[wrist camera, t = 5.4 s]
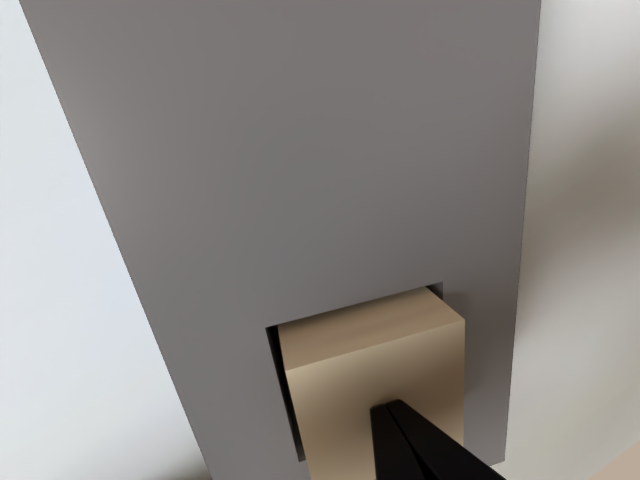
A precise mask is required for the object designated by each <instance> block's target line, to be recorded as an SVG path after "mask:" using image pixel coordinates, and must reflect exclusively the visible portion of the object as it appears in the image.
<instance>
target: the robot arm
mask: <svg viewBox="0 0 640 480" xmlns="http://www.w3.org/2000/svg"><path fill="white" fill-rule="evenodd" d="M370 421H371V432H372V442H373V453H374V463H375V474H376V480H506V479H505V478H504V477H502V476H501V475H500V474H498V473H497V472H496V471H494V470H493V469H492V468H491V467H489V466H488V465H487V464H485V463H484V462H483V461H481V460H480V459H479V458H477V457H476V456H475V455H473V454H472V453H471V452H470V451H468V450H467V449H466V448H464V447H463V446H462V445H460V444H459V443H458V442H456V441H455V440H454V439H452V438H451V437H450V436H449V435H447V434H446V433H445V432H443V431H442V430H441V429H439V428H438V427H437V426H435V425H434V424H433V423H431V422H430V421H429V420H428V419H426V418H425V417H424V416H422V415H421V414H420V413H418V412H417V411H416V410H414V409H413V408H412V407H410V406H409V405H408V404H407V403H405V402H404V401H403V400H401V399H396V400H393V401H390V402H387V403H386V404H385V405H384V404H380V405H377V406H374V407H371V408H370Z"/></svg>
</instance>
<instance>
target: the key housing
mask: <svg viewBox="0 0 640 480" xmlns="http://www.w3.org/2000/svg"><path fill="white" fill-rule="evenodd" d="M19 2H20V4H21V7H22V9H23V12H24V14H25V17H26V19H27V22H28V24H29V27H30V29H31V32H32V34H33V37H34V39H35V42H36V44H37V46H38V49H39V51H40V54H41V56H42V59H43V61H44V64H45V66H46V69H47V71H48V74H49V76H50V79H51V81H52V84H53V86H54V89H55V91H56V94H57V96H58V99H59V101H60V103H61V106H62V108H63V111H64V113H65V116H66V118H67V121H68V123H69V126H70V128H71V131H72V133H73V136H74V138H75V141H76V143H77V146H78V148H79V151H80V153H81V156H82V158H83V160H84V163H85V165H86V168H87V170H88V173H89V175H90V178H91V180H92V183H93V185H94V188H95V190H96V193H97V195H98V198H99V200H100V203H101V205H102V208H103V210H104V213H105V215H106V218H107V220H108V222H109V225H110V227H111V230H112V232H113V235H114V237H115V240H116V242H117V245H118V247H119V250H120V252H121V255H122V257H123V260H124V262H125V265H126V267H127V270H128V272H129V275H130V277H131V279H132V282H133V284H134V287H135V289H136V292H137V294H138V297H139V299H140V302H141V304H142V307H143V309H144V312H145V314H146V317H147V319H148V322H149V324H150V327H151V329H152V332H153V334H154V336H155V339H156V341H157V344H158V346H159V349H160V351H161V354H162V356H163V359H164V361H165V364H166V366H167V369H168V371H169V374H170V376H171V379H172V381H173V384H174V386H175V389H176V391H177V394H178V396H179V398H180V401H181V403H182V406H183V408H184V411H185V413H186V416H187V418H188V421H189V423H190V426H191V428H192V431H193V433H194V436H195V438H196V441H197V443H198V446H199V448H200V451H201V453H202V455H203V458H204V460H205V463H206V465H207V468H208V470H209V473H210V475H211V478H212V480H311V477H310V473H309V469H308V465H307V461H306V456H305V452H304V448H303V444H302V440H301V436H300V431H299V427H298V423H297V419H296V415H295V410H294V406H293V402H292V398H291V394H290V390H289V385H288V381H287V377H286V373H285V368H284V362H283V356H282V350H281V344H280V338H279V332H278V326H277V324H281V323H285V322H289V321H293V320H296V319H300V318H304V317H308V316H312V315H316V314H319V313H323V312H327V311H331V310H335V309H339V308H343V307H346V306H350V305H354V304H358V303H362V302H366V301H369V300H373V299H377V298H381V297H385V296H389V295H392V294H396V293H400V292H404V291H408V290H412V289H416V288H419V287H423V286H425V287H427V288H428V289H429V290H430V291H431V292H432V293H434V294H435V295H436V296H437V297H438V298H440V299H441V300H442V301H443V302H444V303H446V304H447V305H448V306H449V307H450V308H452V309H453V310H454V311H455V312H456V313H458V314H459V315H460V316H461V317H462V318H464V319H465V360H464V436H463V447H464V448H466V449H467V450H468V451H470V452H471V453H472V454H473V455H475V456H476V457H477V458H479V459H480V460H481V461H483V462H484V463H485V464H487V465H488V466H492V465H494V464H497V463H500V462H502V461H504V460H505V447H506V435H507V422H508V410H509V397H510V385H511V372H512V359H513V347H514V334H515V322H516V309H517V297H518V284H519V272H520V259H521V247H522V234H523V221H524V209H525V196H526V184H527V171H528V159H529V146H530V134H531V121H532V109H533V96H534V83H535V71H536V58H537V46H538V33H539V21H540V8H541V0H19ZM375 480H376V479H375Z"/></svg>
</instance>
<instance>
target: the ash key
mask: <svg viewBox="0 0 640 480" xmlns="http://www.w3.org/2000/svg"><path fill="white" fill-rule="evenodd" d="M277 326H278V332H279V338H280V344H281V350H282V356H283V362H284V368H285V373H286V377H287V381H288V385H289V390H290V394H291V398H292V402H293V406H294V410H295V415H296V419H297V423H298V427H299V431H300V436H301V440H302V444H303V448H304V452H305V456H306V461H307V465H308V469H309V473H310V477H311V480H375V479H376V474H375V463H374V453H373V442H372V432H371V421H370V408H371V407H374V406H377V405H380V404H384V405H385V404H386V403H387V402H390V401H393V400H396V399H401V400H403V401H404V402H405V403H407V404H408V405H409V406H410V407H412V408H413V409H414V410H416V411H417V412H418V413H420V414H421V415H422V416H424V417H425V418H426V419H428V420H429V421H430V422H431V423H433V424H434V425H435V426H437V427H438V428H439V429H441V430H442V431H443V432H445V433H446V434H447V435H449V436H450V437H451V438H452V439H454V440H455V441H456V442H458V443H459V444H460V445H462V446H463V436H464V360H465V319H464V318H462V317H461V316H460V315H459V314H458V313H456V312H455V311H454V310H453V309H452V308H450V307H449V306H448V305H447V304H446V303H444V302H443V301H442V300H441V299H440V298H438V297H437V296H436V295H435V294H434V293H432V292H431V291H430V290H429V289H428V288H427V287H425V286H423V287H419V288H416V289H412V290H408V291H404V292H400V293H396V294H392V295H389V296H385V297H381V298H377V299H373V300H369V301H366V302H362V303H358V304H354V305H350V306H346V307H343V308H339V309H335V310H331V311H327V312H323V313H319V314H316V315H312V316H308V317H304V318H300V319H296V320H293V321H289V322H285V323H281V324H277Z"/></svg>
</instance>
